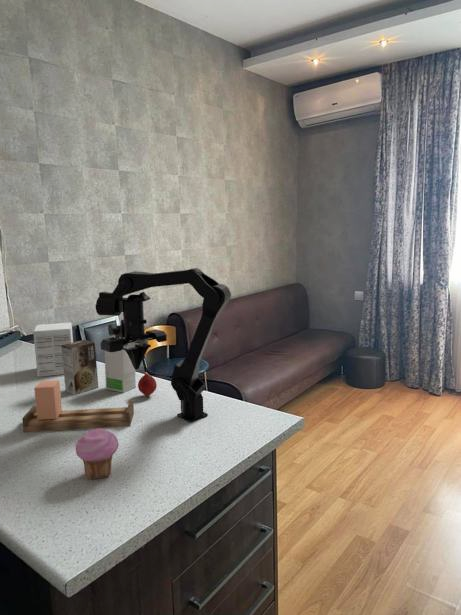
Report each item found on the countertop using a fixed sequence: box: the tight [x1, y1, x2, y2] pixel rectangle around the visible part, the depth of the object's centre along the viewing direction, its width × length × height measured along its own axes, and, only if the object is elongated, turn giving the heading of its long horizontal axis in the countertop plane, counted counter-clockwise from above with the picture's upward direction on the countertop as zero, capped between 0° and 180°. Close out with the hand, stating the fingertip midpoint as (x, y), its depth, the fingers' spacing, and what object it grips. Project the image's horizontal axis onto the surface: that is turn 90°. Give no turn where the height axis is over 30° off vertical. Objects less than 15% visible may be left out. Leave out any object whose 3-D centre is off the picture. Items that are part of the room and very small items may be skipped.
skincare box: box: [104, 349, 137, 394], centre depth 152 cm, size 8×7×16 cm
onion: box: [137, 372, 158, 397], centre depth 145 cm, size 6×6×8 cm
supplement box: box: [32, 322, 74, 378], centre depth 174 cm, size 13×13×18 cm
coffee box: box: [61, 339, 99, 396], centre depth 152 cm, size 9×6×16 cm
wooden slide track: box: [21, 400, 135, 433], centre depth 126 cm, size 28×9×4 cm, turn 95°
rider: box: [33, 379, 63, 420], centre depth 124 cm, size 5×6×10 cm
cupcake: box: [75, 428, 119, 480], centre depth 98 cm, size 9×9×10 cm
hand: (136, 369), depth 130 cm, fingers closed
